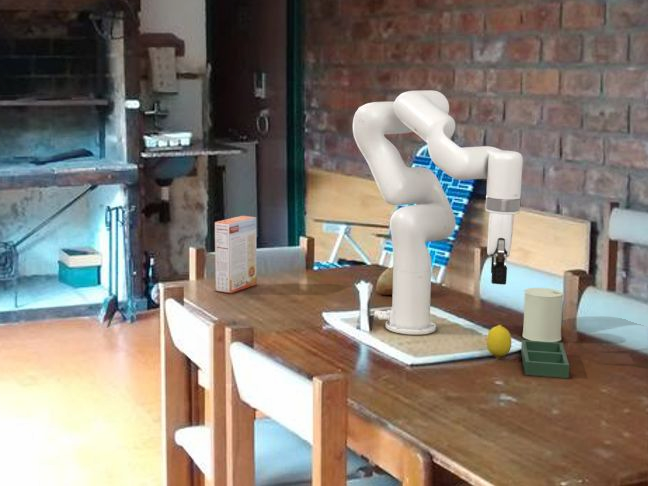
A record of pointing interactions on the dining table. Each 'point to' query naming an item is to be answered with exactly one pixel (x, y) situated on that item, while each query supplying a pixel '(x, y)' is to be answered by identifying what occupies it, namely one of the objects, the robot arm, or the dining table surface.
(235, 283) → the cracker box
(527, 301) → the can
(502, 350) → the lemon
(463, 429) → the dining table surface
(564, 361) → the holder
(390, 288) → the bread roll
